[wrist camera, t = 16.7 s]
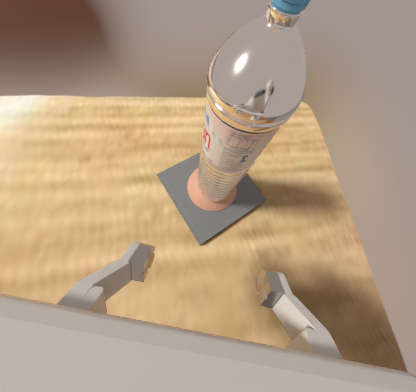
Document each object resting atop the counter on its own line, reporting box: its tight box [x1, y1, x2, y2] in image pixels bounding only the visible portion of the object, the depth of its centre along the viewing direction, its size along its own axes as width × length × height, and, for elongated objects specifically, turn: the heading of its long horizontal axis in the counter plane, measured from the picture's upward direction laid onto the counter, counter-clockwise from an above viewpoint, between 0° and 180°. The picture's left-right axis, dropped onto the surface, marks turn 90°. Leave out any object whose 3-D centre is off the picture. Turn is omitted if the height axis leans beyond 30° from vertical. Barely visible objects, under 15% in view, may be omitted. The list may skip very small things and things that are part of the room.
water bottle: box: [197, 0, 310, 202], centre depth 18 cm, size 7×7×25 cm
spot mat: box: [157, 153, 266, 245], centre depth 30 cm, size 16×16×1 cm
